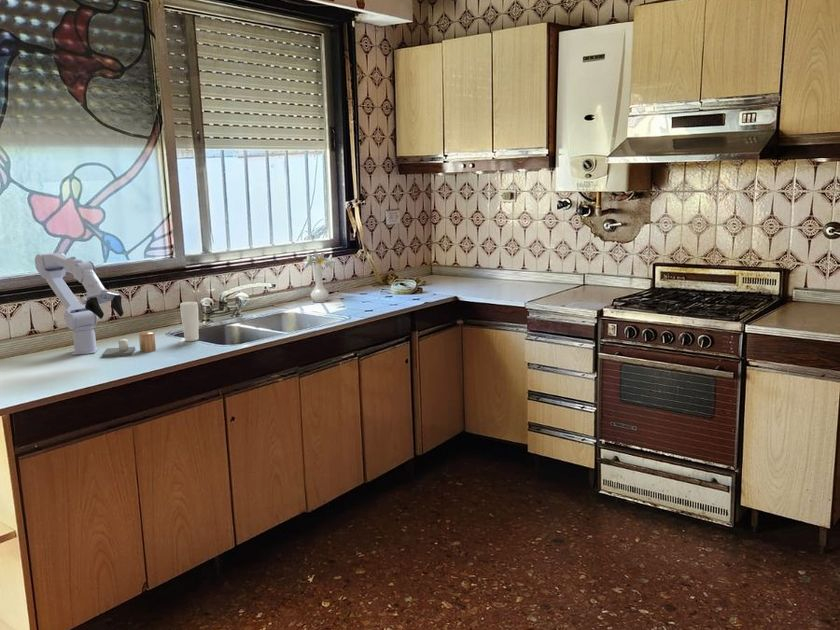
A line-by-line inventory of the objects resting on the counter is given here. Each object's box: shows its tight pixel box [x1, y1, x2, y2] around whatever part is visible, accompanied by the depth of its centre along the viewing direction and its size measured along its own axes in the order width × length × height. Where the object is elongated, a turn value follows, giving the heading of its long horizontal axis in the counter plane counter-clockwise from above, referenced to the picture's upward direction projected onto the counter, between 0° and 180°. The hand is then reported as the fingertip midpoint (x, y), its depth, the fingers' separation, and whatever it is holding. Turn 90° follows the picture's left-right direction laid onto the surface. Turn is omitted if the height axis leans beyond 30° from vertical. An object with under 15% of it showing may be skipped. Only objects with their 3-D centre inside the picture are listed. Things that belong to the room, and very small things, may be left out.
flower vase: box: [302, 252, 337, 303], centre depth 376 cm, size 13×18×25 cm
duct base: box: [101, 338, 136, 358], centre depth 275 cm, size 10×10×5 cm
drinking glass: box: [179, 301, 200, 342], centre depth 294 cm, size 7×7×15 cm
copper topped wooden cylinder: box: [138, 331, 157, 353], centre depth 279 cm, size 6×6×7 cm
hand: (112, 315), depth 262 cm, fingers open, 7 cm apart
